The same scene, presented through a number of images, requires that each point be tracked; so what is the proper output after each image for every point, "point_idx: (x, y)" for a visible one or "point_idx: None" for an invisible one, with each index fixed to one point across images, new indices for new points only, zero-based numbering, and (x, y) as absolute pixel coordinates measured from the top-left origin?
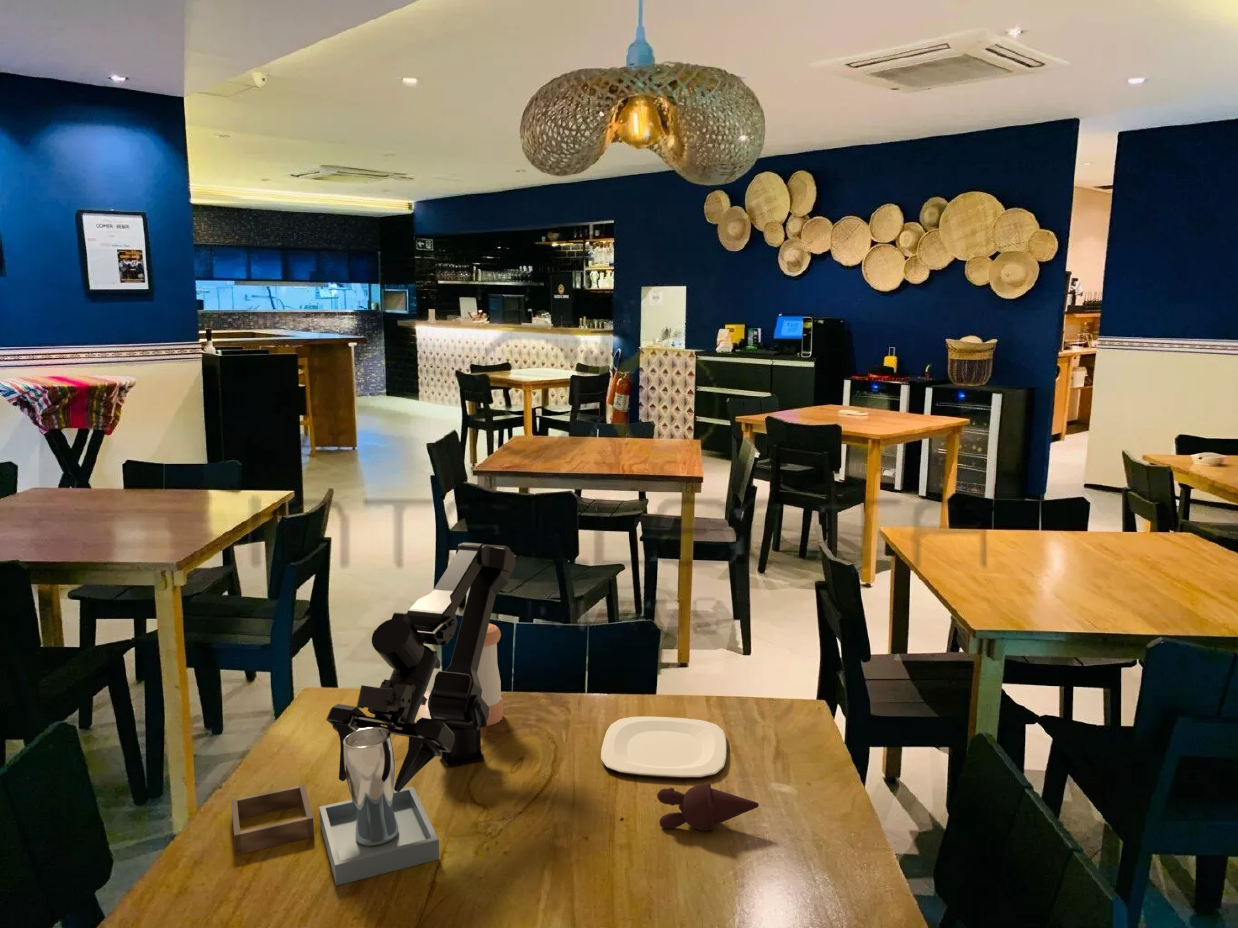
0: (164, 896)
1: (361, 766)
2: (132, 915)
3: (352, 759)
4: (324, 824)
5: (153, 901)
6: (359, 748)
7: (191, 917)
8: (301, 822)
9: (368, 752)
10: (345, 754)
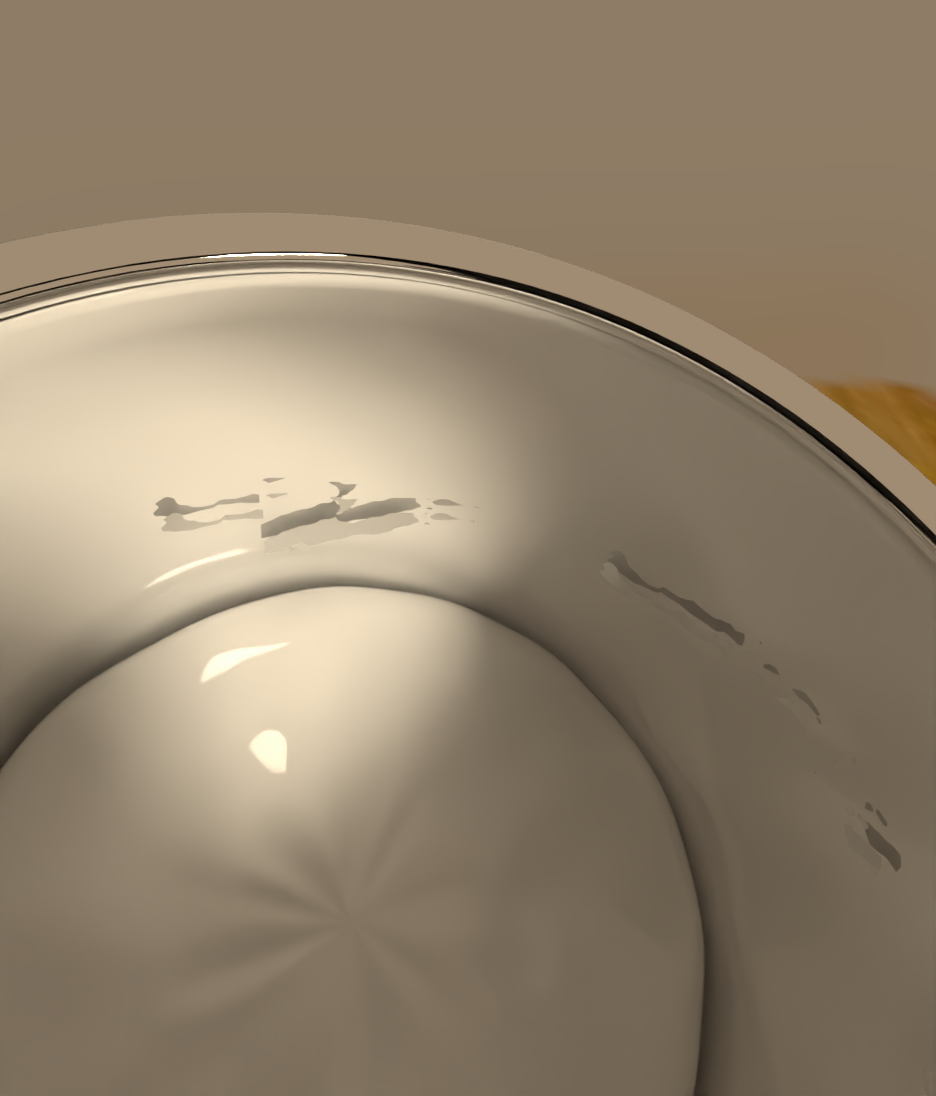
0: (921, 463)
1: (339, 485)
2: (920, 391)
3: (510, 451)
4: None
5: (928, 442)
6: (378, 229)
7: None
8: None
9: (177, 347)
10: (705, 527)
